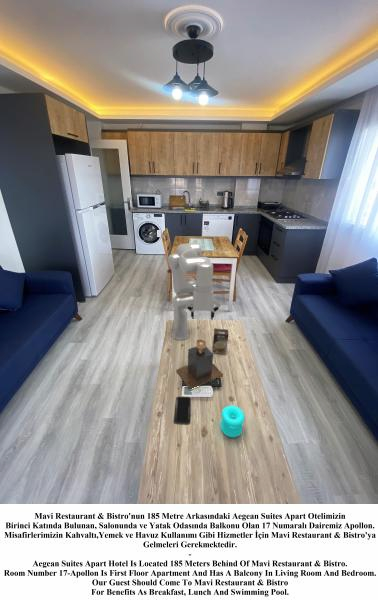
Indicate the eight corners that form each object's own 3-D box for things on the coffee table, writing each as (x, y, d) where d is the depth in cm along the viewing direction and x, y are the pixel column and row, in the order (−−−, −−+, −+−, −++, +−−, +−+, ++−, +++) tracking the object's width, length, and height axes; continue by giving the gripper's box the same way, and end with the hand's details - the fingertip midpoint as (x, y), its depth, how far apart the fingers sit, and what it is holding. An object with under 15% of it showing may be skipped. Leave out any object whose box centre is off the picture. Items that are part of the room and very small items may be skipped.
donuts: (221, 421, 103) (222, 402, 112) (219, 436, 108) (220, 417, 116) (245, 425, 102) (244, 406, 110) (242, 440, 106) (241, 420, 115)
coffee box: (212, 354, 157) (213, 333, 150) (212, 348, 163) (213, 328, 155) (226, 355, 156) (228, 335, 149) (225, 349, 162) (228, 329, 155)
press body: (176, 371, 142) (176, 349, 135) (207, 359, 152) (209, 338, 145) (189, 390, 130) (190, 367, 123) (222, 376, 140) (225, 353, 132)
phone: (173, 422, 112) (176, 396, 126) (173, 424, 113) (176, 398, 126) (190, 423, 112) (191, 397, 125) (190, 425, 113) (191, 398, 126)
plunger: (190, 369, 142) (190, 340, 132) (201, 365, 145) (203, 336, 136) (197, 378, 136) (198, 348, 126) (209, 373, 139) (211, 344, 129)
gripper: (185, 290, 112) (185, 321, 120) (222, 291, 113) (219, 322, 120) (186, 284, 119) (185, 313, 127) (221, 284, 119) (218, 314, 127)
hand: (202, 318), depth 124 cm, fingers open, 9 cm apart
